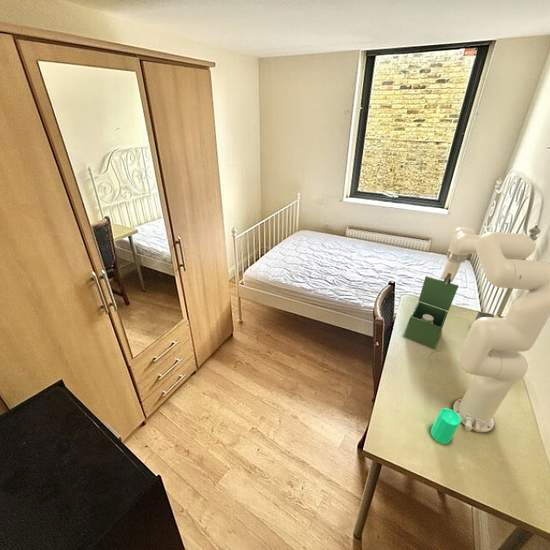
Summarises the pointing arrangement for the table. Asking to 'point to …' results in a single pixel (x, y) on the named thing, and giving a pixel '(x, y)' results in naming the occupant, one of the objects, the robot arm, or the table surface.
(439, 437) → the candle
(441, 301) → the lid
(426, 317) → the pill bottle
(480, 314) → the small box
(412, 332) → the chest
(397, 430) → the table surface
